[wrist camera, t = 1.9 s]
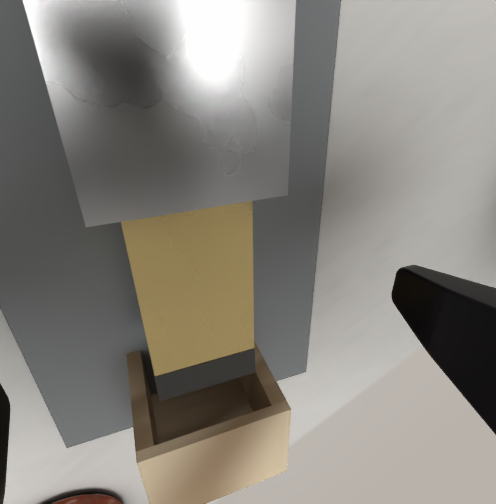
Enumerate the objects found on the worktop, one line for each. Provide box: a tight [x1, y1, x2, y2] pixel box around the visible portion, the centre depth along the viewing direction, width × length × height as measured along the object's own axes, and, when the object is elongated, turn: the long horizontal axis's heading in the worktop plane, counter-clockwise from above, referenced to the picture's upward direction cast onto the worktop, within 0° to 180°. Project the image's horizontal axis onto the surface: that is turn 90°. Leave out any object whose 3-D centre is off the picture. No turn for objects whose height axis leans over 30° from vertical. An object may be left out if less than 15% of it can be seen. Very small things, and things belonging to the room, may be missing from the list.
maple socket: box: [126, 341, 291, 504], centre depth 16 cm, size 6×4×5 cm
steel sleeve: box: [23, 0, 296, 227], centre depth 8 cm, size 5×8×5 cm, turn 1°
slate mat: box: [0, 0, 341, 448], centre depth 14 cm, size 13×22×1 cm, turn 1°
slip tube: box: [121, 201, 255, 402], centre depth 10 cm, size 3×14×3 cm, turn 1°
